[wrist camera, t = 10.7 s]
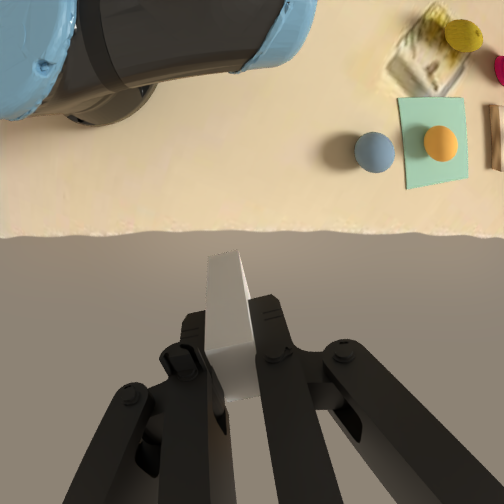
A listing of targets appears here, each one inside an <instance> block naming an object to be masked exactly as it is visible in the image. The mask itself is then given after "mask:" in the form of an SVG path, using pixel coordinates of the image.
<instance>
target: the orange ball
mask: <svg viewBox="0 0 504 504" xmlns="http://www.w3.org/2000/svg"><path fill="white" fill-rule="evenodd" d="M424 147H425V150H426V152H427V153H428V155H429V156H430V157H431V158H432V159H434V160H436V161H439V162H446V161H449V160H451V159H452V158H453V157H454V156H455V155H456V153H457V149H458V142H457V138H456V136H455V135H454V133H453V132H452V131H451V130H450V129H449V128H447V127H445V126H440V125H438V126H433V127H431V128H430V129H429V130H428V131H427V132H426V134H425V136H424Z"/></svg>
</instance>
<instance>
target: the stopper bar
mask: <svg viewBox="0 0 504 504" xmlns="http://www.w3.org/2000/svg"><path fill="white" fill-rule="evenodd" d="M489 108H490V120H491V136H492V169H495V170H498V171H500V172H503V171H504V106H498V105H489Z"/></svg>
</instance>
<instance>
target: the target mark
mask: <svg viewBox="0 0 504 504" xmlns="http://www.w3.org/2000/svg"><path fill="white" fill-rule="evenodd" d="M398 104H399V111H400V119H401V127H402V136H403V146H404V157H405V171H406V189H412V188H417V187H422V186H428V185H433V184H438V183H444V182H449V181H455V180H460V179H466V178H468V146H467V129H466V117H465V107H464V99H463V98H446V97H420V98H398ZM438 125H440V126H445V127H447V128H449V129H450V130H451V131H452V132H453V133H454V135H455V136H456V138H457V142H458V149H457V153H456V155H455V156H454V157H453V158H452V159H451V160H449V161H446V162H439V161H436V160H434V159H432V158H431V157H430V156H429V155H428V153H427V152H426V150H425V147H424V136H425V134H426V132H427V131H428V130H429V129H430V128H431V127H433V126H438Z"/></svg>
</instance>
